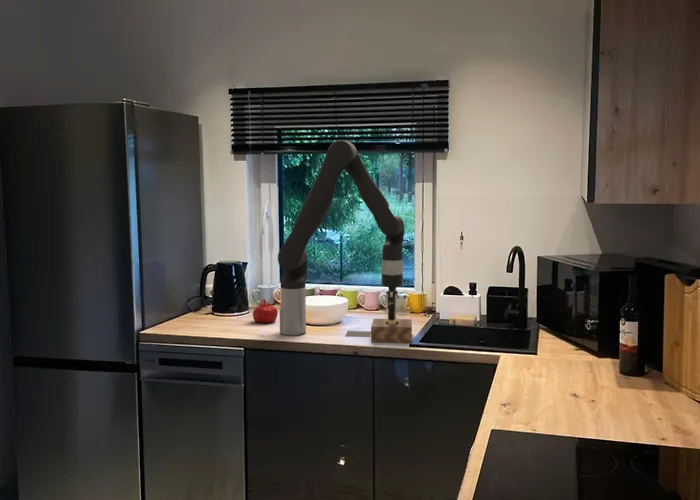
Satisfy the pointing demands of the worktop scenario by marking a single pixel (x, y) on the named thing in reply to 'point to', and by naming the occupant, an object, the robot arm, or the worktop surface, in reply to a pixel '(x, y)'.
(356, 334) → the mat
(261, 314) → the pomegranate
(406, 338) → the hole block
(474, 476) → the worktop surface
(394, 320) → the peg
